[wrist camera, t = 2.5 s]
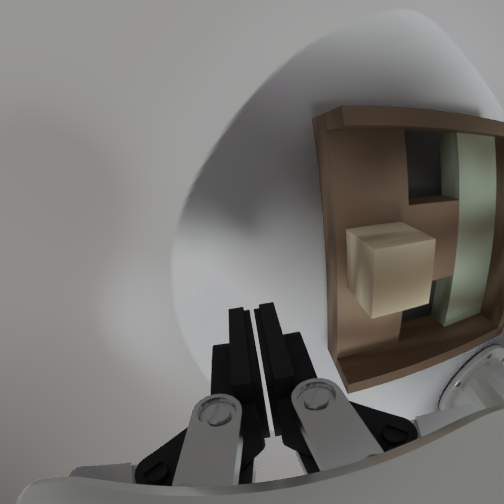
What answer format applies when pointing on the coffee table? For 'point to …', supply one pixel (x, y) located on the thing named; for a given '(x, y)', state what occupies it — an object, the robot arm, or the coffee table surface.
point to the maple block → (389, 267)
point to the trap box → (421, 218)
